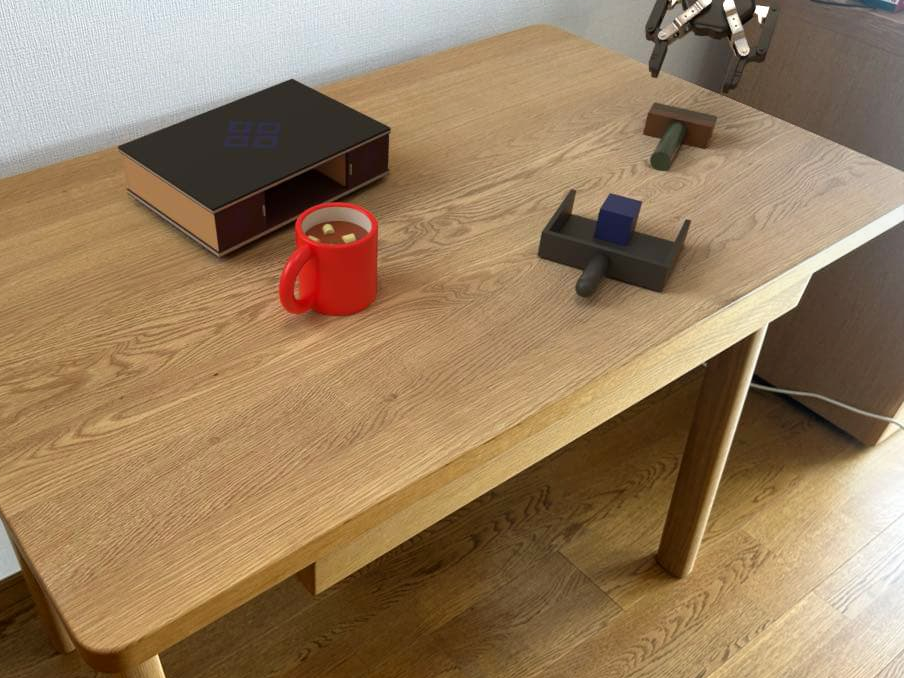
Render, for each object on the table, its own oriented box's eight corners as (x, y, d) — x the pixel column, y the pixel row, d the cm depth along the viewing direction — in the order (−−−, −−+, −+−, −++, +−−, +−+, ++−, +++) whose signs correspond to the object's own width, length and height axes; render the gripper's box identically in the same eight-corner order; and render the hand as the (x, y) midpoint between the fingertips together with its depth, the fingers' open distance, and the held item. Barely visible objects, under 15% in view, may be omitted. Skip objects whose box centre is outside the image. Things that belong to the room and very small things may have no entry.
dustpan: (566, 214, 98) (571, 188, 96) (683, 246, 94) (691, 220, 91) (516, 287, 88) (520, 261, 86) (644, 326, 84) (652, 300, 82)
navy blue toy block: (609, 192, 94) (599, 208, 92) (642, 201, 93) (633, 217, 91) (603, 221, 97) (593, 237, 94) (634, 230, 95) (625, 246, 93)
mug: (255, 316, 85) (248, 248, 79) (331, 259, 91) (329, 193, 86) (318, 348, 81) (315, 279, 76) (392, 286, 88) (394, 219, 83)
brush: (717, 116, 108) (696, 157, 102) (711, 138, 111) (690, 180, 104) (654, 102, 111) (629, 141, 104) (648, 123, 113) (624, 164, 107)
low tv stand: (389, 180, 103) (391, 127, 98) (220, 264, 91) (212, 209, 86) (294, 128, 112) (292, 78, 107) (128, 199, 99) (117, 146, 95)
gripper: (679, -77, 102) (629, 57, 103) (806, -58, 97) (753, 82, 98) (677, -42, 109) (631, 83, 110) (796, -22, 104) (747, 108, 105)
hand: (689, 83), depth 104 cm, fingers open, 8 cm apart
